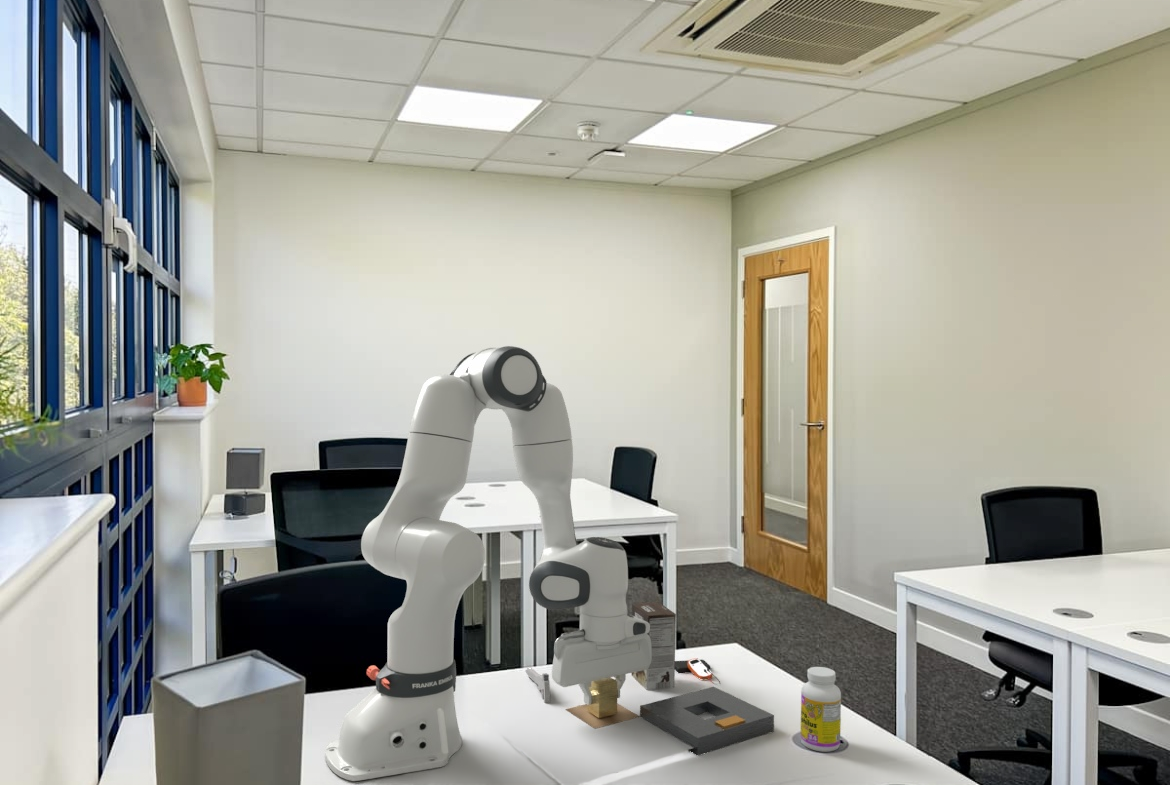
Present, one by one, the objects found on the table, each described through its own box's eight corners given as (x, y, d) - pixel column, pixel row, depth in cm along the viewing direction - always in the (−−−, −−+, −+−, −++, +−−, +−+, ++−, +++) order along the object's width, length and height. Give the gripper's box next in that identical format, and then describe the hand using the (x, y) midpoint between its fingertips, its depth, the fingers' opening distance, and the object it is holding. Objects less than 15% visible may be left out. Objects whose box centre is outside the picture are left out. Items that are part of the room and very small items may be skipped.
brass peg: (598, 718, 149) (599, 685, 149) (587, 710, 152) (587, 678, 152) (617, 713, 151) (617, 681, 151) (604, 706, 155) (605, 674, 154)
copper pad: (594, 734, 145) (594, 728, 145) (565, 714, 154) (565, 709, 154) (639, 721, 151) (640, 716, 151) (608, 703, 159) (608, 698, 159)
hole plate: (697, 755, 137) (697, 736, 137) (639, 721, 151) (640, 704, 151) (773, 731, 147) (774, 713, 147) (713, 701, 161) (713, 685, 161)
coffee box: (629, 679, 172) (630, 603, 172) (658, 676, 174) (659, 601, 174) (646, 695, 163) (647, 615, 163) (675, 692, 165) (676, 612, 165)
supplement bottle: (793, 738, 145) (794, 665, 144) (826, 734, 146) (828, 663, 146) (812, 755, 138) (814, 679, 138) (847, 751, 140) (849, 676, 140)
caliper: (550, 709, 157) (550, 676, 157) (544, 709, 157) (545, 677, 156) (530, 672, 177) (530, 643, 177) (525, 672, 176) (525, 643, 176)
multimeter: (749, 696, 165) (749, 679, 165) (690, 698, 164) (690, 681, 164) (723, 666, 183) (724, 650, 183) (671, 667, 181) (671, 652, 181)
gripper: (563, 639, 143) (562, 718, 144) (657, 622, 154) (655, 696, 155) (546, 630, 149) (544, 705, 149) (637, 614, 160) (636, 685, 160)
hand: (602, 700), depth 152 cm, fingers closed on brass peg, 4 cm apart
